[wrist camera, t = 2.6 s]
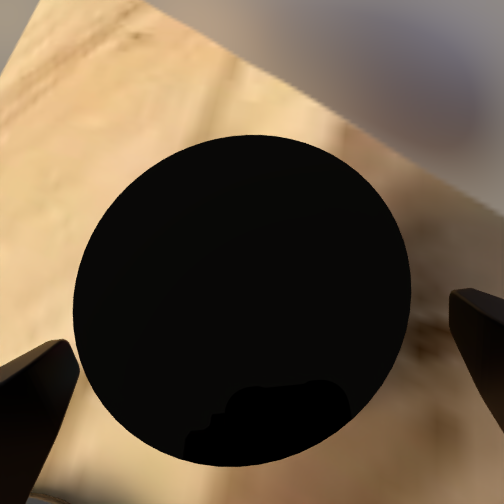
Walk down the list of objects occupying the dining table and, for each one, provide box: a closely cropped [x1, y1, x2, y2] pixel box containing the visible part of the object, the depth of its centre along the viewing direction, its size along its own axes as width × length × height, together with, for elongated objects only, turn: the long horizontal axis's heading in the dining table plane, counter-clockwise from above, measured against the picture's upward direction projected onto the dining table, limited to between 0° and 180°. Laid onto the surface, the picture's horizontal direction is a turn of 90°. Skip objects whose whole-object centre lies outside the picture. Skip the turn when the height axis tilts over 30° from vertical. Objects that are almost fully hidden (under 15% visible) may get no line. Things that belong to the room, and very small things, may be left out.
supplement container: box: [73, 135, 411, 467], centre depth 12 cm, size 7×7×10 cm
